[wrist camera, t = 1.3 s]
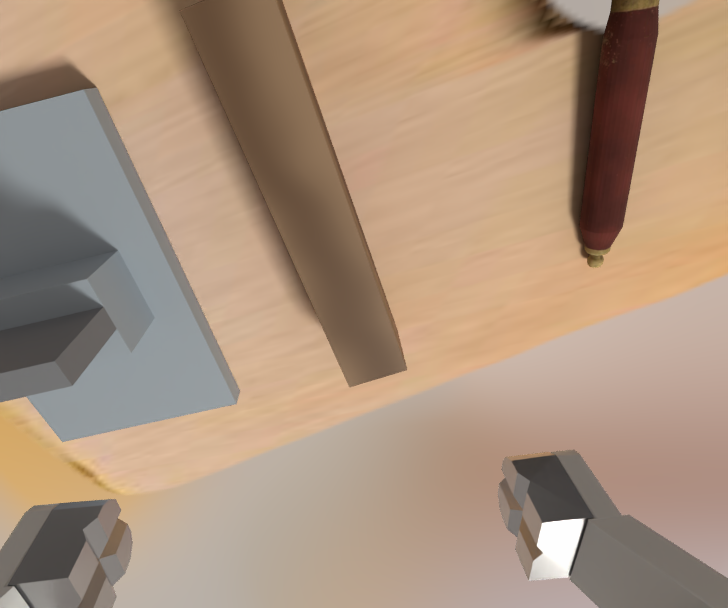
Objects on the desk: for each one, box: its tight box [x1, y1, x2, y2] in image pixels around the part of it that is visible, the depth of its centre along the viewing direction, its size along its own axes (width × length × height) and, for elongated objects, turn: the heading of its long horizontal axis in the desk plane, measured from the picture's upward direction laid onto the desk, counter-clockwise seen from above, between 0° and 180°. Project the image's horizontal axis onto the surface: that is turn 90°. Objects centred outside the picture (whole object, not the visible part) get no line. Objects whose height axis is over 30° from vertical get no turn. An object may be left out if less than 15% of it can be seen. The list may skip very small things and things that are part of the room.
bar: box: [180, 0, 407, 387], centre depth 26 cm, size 4×22×5 cm, turn 18°
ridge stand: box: [0, 88, 240, 442], centre depth 25 cm, size 14×22×10 cm, turn 13°
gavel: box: [580, 0, 659, 268], centre depth 25 cm, size 21×5×10 cm
